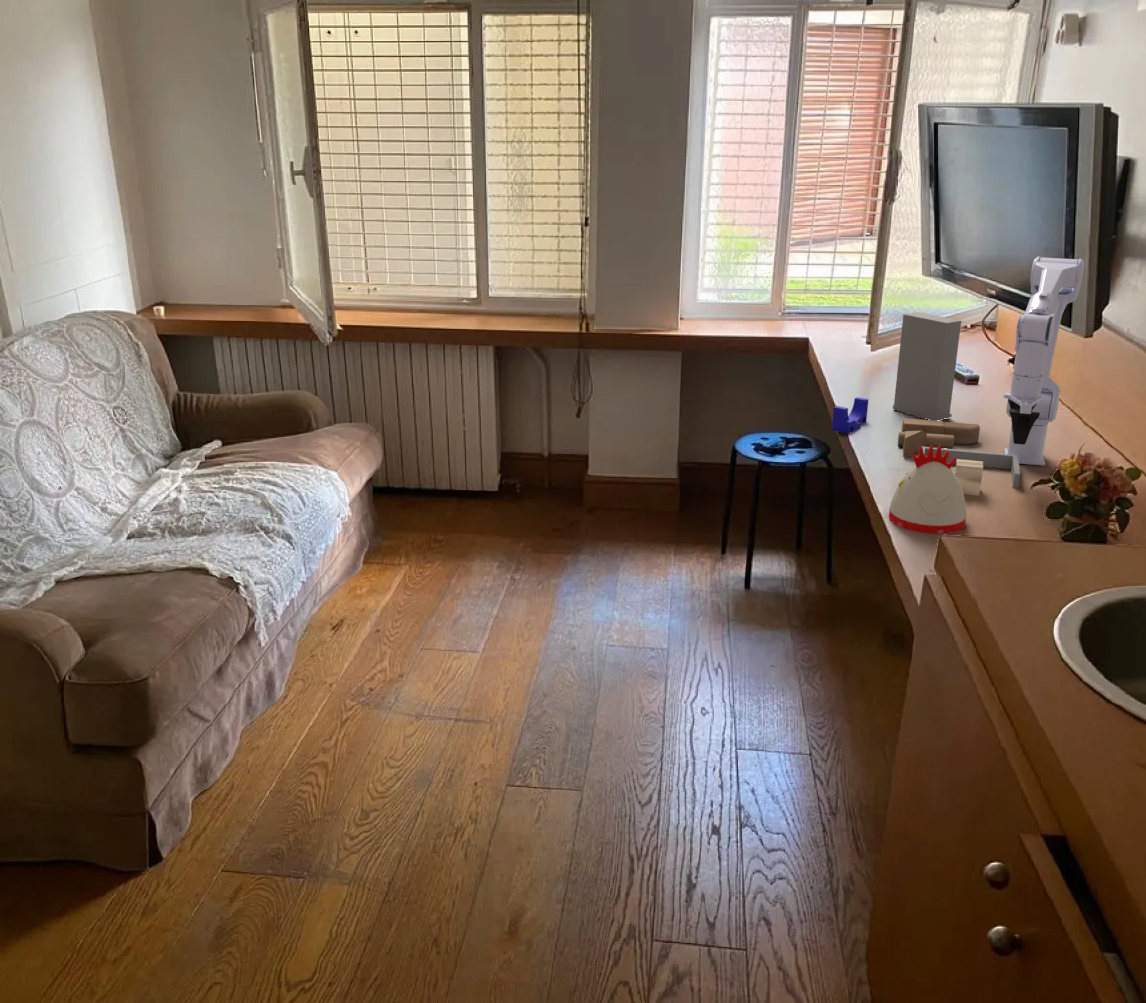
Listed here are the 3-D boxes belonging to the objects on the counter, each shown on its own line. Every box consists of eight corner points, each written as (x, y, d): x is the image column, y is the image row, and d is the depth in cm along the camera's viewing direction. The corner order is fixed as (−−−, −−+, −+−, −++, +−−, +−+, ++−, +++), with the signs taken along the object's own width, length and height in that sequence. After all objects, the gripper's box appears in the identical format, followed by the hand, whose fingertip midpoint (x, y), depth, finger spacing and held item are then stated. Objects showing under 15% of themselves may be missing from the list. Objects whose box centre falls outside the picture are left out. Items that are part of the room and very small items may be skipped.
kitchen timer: (882, 505, 202) (890, 433, 197) (954, 507, 201) (963, 434, 196) (897, 533, 189) (905, 456, 184) (973, 535, 188) (984, 457, 183)
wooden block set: (899, 413, 243) (980, 418, 239) (897, 436, 245) (976, 442, 241) (900, 433, 228) (986, 439, 224) (897, 457, 230) (983, 464, 226)
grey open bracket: (919, 459, 228) (920, 446, 227) (1015, 468, 222) (1017, 455, 221) (916, 477, 217) (917, 464, 216) (1017, 487, 210) (1020, 474, 209)
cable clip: (848, 434, 247) (850, 410, 245) (831, 430, 250) (833, 407, 248) (871, 423, 255) (874, 400, 253) (855, 420, 258) (857, 397, 256)
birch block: (953, 486, 212) (956, 459, 210) (979, 489, 210) (982, 461, 208) (953, 492, 208) (956, 465, 206) (979, 495, 207) (983, 467, 205)
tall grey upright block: (951, 419, 257) (964, 320, 248) (934, 423, 254) (946, 323, 245) (909, 406, 268) (919, 311, 259) (892, 410, 265) (902, 314, 256)
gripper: (1005, 364, 214) (997, 426, 219) (1008, 381, 201) (998, 446, 206) (1042, 366, 211) (1032, 429, 216) (1047, 383, 199) (1036, 450, 204)
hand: (1018, 438), depth 211 cm, fingers open, 7 cm apart
